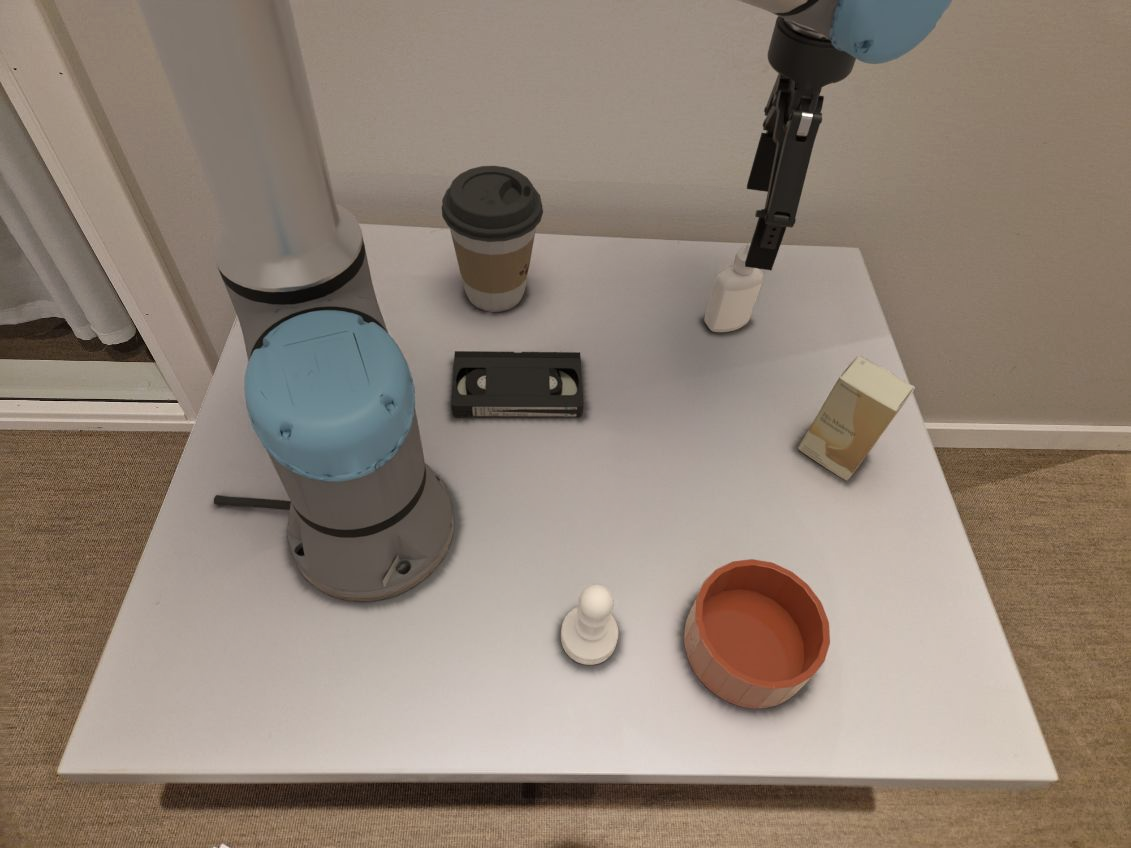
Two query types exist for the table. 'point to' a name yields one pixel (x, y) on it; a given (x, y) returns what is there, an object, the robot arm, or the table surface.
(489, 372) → the vhs tape
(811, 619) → the crock
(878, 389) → the cosmetic box
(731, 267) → the eye dropper bottle
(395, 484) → the robot arm
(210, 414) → the table surface
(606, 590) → the chess pawn
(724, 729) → the table surface
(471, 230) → the coffee cup
